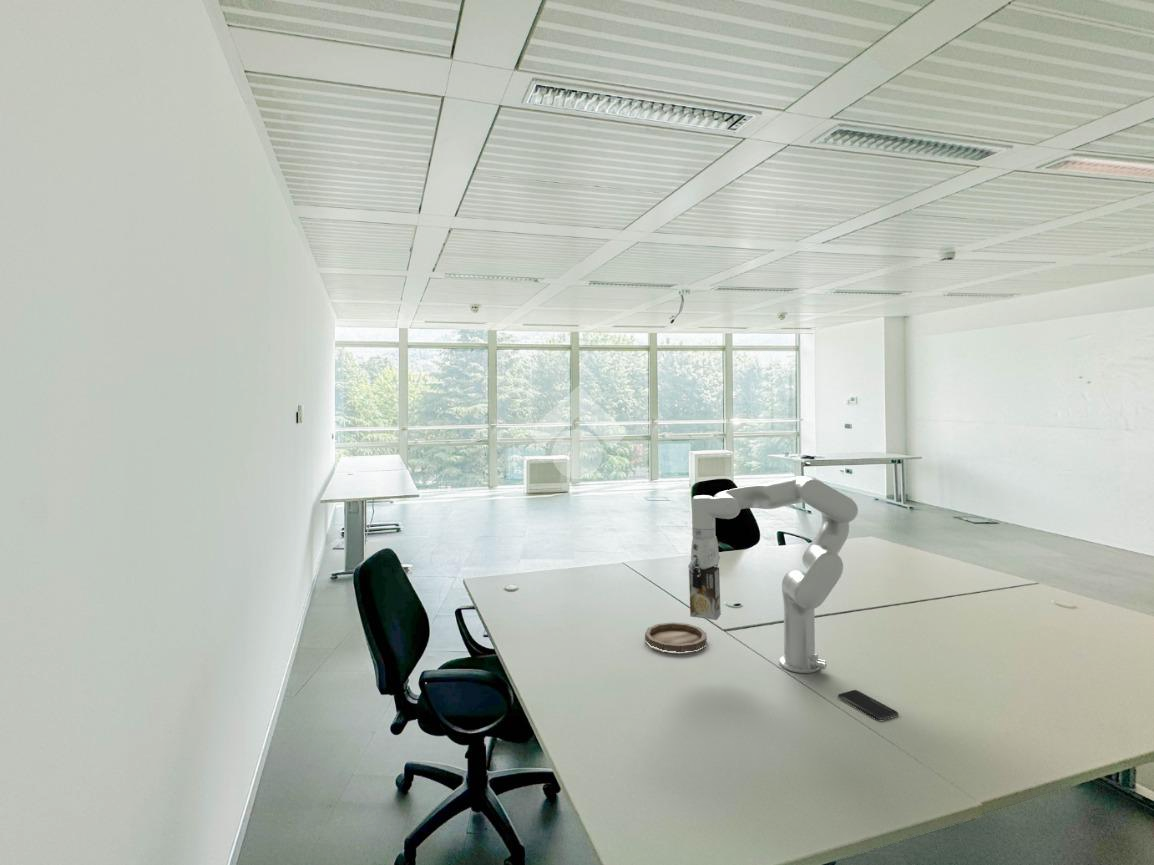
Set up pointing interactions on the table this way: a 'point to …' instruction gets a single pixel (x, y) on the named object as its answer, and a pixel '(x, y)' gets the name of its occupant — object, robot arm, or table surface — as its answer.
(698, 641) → the round tray
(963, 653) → the table surface
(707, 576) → the coffee box
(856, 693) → the phone
